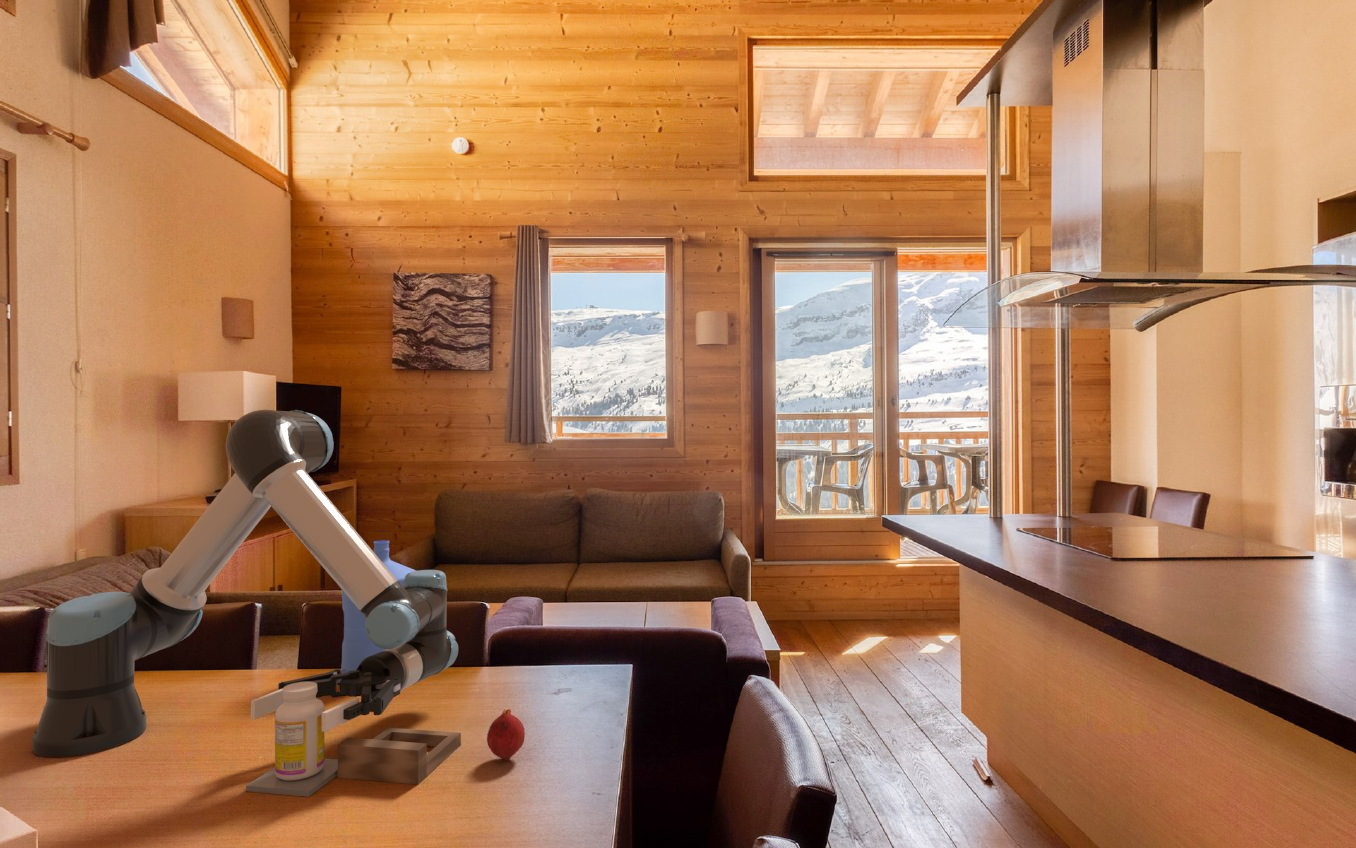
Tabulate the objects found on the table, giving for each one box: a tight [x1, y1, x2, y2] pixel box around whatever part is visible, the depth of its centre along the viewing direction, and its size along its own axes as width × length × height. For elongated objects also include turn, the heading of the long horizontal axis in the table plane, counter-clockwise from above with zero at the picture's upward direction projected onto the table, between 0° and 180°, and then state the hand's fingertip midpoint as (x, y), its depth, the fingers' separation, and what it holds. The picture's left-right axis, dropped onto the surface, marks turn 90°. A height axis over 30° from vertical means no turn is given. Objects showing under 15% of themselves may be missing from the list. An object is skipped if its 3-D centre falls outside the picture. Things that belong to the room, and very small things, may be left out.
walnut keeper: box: [337, 727, 462, 786], centre depth 118 cm, size 13×14×5 cm
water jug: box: [340, 540, 417, 674], centre depth 162 cm, size 16×16×28 cm
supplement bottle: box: [274, 682, 326, 781], centre depth 112 cm, size 7×7×13 cm
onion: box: [486, 707, 526, 761], centre depth 118 cm, size 6×6×8 cm
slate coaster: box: [245, 757, 338, 798], centre depth 112 cm, size 10×10×1 cm
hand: (287, 716), depth 110 cm, fingers open, 13 cm apart
